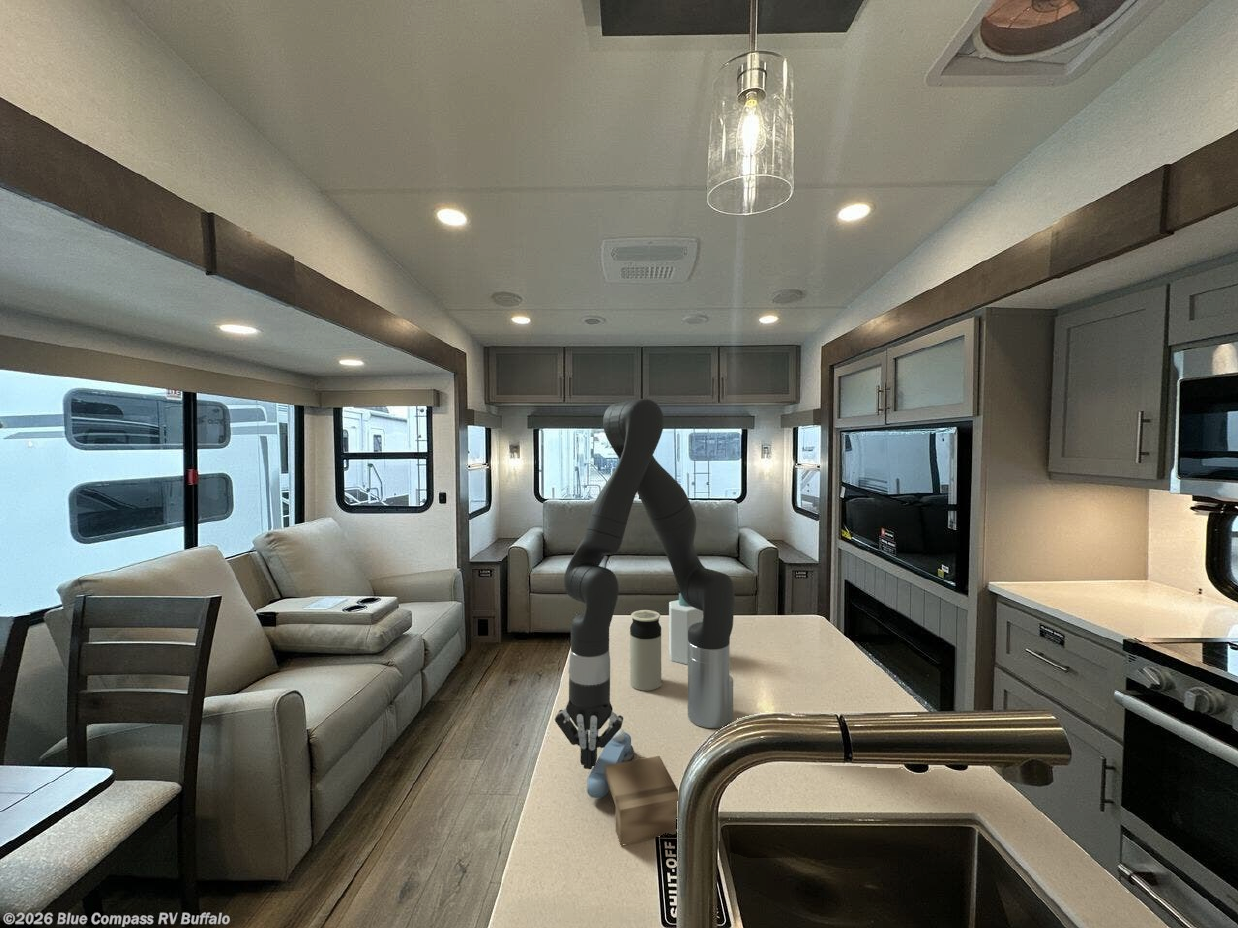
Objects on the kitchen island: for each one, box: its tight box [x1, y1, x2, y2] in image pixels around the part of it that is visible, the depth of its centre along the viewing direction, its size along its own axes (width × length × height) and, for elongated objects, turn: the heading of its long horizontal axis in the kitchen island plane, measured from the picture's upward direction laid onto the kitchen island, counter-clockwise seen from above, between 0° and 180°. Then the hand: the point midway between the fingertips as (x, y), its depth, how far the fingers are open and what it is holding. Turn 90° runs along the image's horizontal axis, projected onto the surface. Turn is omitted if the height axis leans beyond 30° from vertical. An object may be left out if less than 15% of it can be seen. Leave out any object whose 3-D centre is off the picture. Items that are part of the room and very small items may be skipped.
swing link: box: [586, 728, 632, 799], centre depth 88 cm, size 16×5×3 cm, turn 163°
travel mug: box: [629, 609, 662, 692], centre depth 121 cm, size 8×8×18 cm
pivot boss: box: [622, 744, 635, 762], centre depth 93 cm, size 6×6×1 cm
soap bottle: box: [668, 592, 703, 666], centre depth 137 cm, size 10×9×22 cm
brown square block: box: [605, 755, 679, 846], centre depth 78 cm, size 10×10×6 cm
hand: (588, 765), depth 87 cm, fingers closed
